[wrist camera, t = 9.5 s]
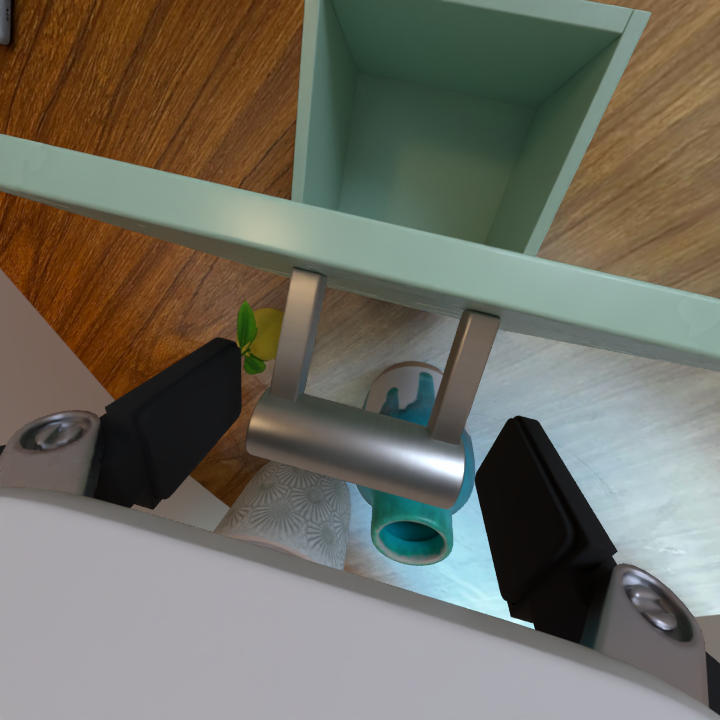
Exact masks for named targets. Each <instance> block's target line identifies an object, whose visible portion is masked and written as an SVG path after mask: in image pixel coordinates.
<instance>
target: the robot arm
mask: <svg viewBox="0 0 720 720" xmlns="http://www.w3.org/2000/svg"><path fill="white" fill-rule="evenodd" d="M241 408H242V398H241V349H240V347H237V344H236V342H234V341H231V340H227V339H223V338H219V337H217V338H215V339H213V340H212V341H210V342H208V343H207V344H205V345H204V346H202V347H200V348H199V349H197V350H196V351H194V352H192V353H191V354H189V355H188V356H186V357H184V358H183V359H181V360H180V361H178V362H176V363H175V364H173V365H172V366H170V367H168V368H167V369H165V370H164V371H162V372H160V373H159V374H157V375H156V376H154V377H152V378H151V379H149V380H148V381H146V382H144V383H143V384H141V385H140V386H138V387H136V388H135V389H133V390H132V391H130V392H128V393H127V394H125V395H124V396H122V397H120V398H119V399H117V400H116V401H114V402H113V403H111V404H109V405H108V406H106V407H105V409H106V412H107V413H106V414H104V415H103V416H101V417H100V418H99V417H98V416H97V415H96V414H94V413H92V412H89V411H82V410H73V411H63V412H58V413H53V414H50V415H47V416H44V417H41V418H38V419H36V420H34V421H32V422H30V423H28V424H26V425H25V426H23V427H22V428H20V429H19V430H18V431H16V432H15V434H14V435H13V436H12V437H11V438H10V440H9V441H8V443H7V445H3V446H0V720H720V663H718V662H717V661H716V660H715V659H714V658H713V657H711V656H710V655H709V654H708V653H707V652H706V651H705V642H704V638H703V634H702V630H701V629H700V627H699V625H698V623H697V621H696V620H695V618H694V616H693V615H692V614H691V612H690V611H689V610H688V608H687V607H686V606H685V604H684V603H683V602H682V601H681V600H680V599H679V598H678V597H677V596H676V595H675V594H674V593H673V592H672V591H671V590H670V589H669V588H668V587H667V586H665V585H664V584H663V583H662V582H661V581H659V580H658V579H657V578H655V577H654V576H652V575H651V574H649V573H648V572H646V571H645V570H642V569H640V568H638V567H636V566H633V565H629V564H624V563H623V564H619V565H617V564H616V562H615V560H614V558H613V557H612V556H613V555H614V554H615V553H616V552H617V550H616V548H615V546H614V545H613V543H612V541H611V540H610V538H609V536H608V535H607V533H606V532H605V530H604V528H603V527H602V525H601V523H600V522H599V520H598V518H597V517H596V515H595V513H594V512H593V510H592V508H591V507H590V505H589V504H588V502H587V500H586V499H585V497H584V495H583V494H582V492H581V490H580V489H579V487H578V485H577V484H576V482H575V481H574V479H573V477H572V476H571V474H570V472H569V471H568V469H567V467H566V466H565V464H564V462H563V461H562V459H561V457H560V456H559V454H558V453H557V451H556V449H555V448H554V446H553V444H552V443H551V441H550V439H549V438H548V436H547V434H546V433H545V431H544V430H543V428H542V426H541V425H540V423H539V422H538V421H537V420H534V419H530V418H526V417H522V416H516V417H514V418H510V419H508V421H507V422H506V424H505V425H504V427H503V429H502V430H501V432H500V434H499V435H498V437H497V439H496V441H495V442H494V444H493V446H492V447H491V449H490V451H489V452H488V454H487V456H486V457H485V459H484V461H483V462H482V464H481V466H480V468H479V469H478V471H477V473H476V476H475V485H476V490H477V494H478V498H479V503H480V507H481V511H482V516H483V520H484V524H485V529H486V533H487V537H488V542H489V546H490V550H491V555H492V559H493V563H494V568H495V572H496V576H497V581H498V585H499V589H500V593H501V596H502V598H503V599H504V600H505V601H507V603H508V607H509V611H510V615H511V617H513V618H517V619H520V620H523V621H527V622H530V623H533V624H534V627H535V630H534V629H531V628H528V627H525V626H522V625H519V624H516V623H513V622H510V621H506V620H503V619H500V618H497V617H493V616H490V615H487V614H484V613H480V612H477V611H474V610H471V609H467V608H464V607H461V606H457V605H454V604H451V603H448V602H444V601H441V600H438V599H435V598H431V597H428V596H425V595H421V594H418V593H415V592H412V591H408V590H405V589H402V588H399V587H395V586H392V585H389V584H385V583H382V582H379V581H375V580H372V579H369V578H365V577H362V576H359V575H356V574H352V573H349V572H346V571H342V570H339V569H336V568H332V567H329V566H326V565H322V564H319V563H316V562H312V561H309V560H306V559H302V558H299V557H296V556H292V555H289V554H285V553H282V552H279V551H275V550H272V549H269V548H265V547H262V546H259V545H255V544H252V543H248V542H245V541H242V540H238V539H235V538H231V537H228V536H225V535H221V534H218V533H214V532H211V531H207V530H204V529H201V528H197V527H194V526H191V525H187V524H184V523H180V522H177V521H174V520H170V519H166V518H163V517H160V516H156V515H153V514H149V513H145V512H142V511H138V510H134V509H131V507H132V506H133V505H134V504H136V505H139V506H142V507H146V508H149V509H152V510H153V509H154V508H155V507H156V506H157V505H158V504H159V502H160V501H161V500H162V499H167V498H169V497H170V496H171V495H172V494H173V493H174V492H175V491H176V489H177V488H178V487H179V486H180V485H181V484H182V482H183V481H184V480H185V479H186V478H187V477H188V475H189V474H190V473H191V472H192V471H193V470H194V468H195V467H196V466H197V465H198V464H199V463H200V462H201V460H202V459H203V458H204V457H205V456H206V455H207V453H208V452H209V451H210V450H211V449H212V448H213V446H214V445H215V444H216V443H217V442H218V441H219V439H220V438H221V437H222V436H223V435H224V434H225V432H226V431H227V430H228V429H229V428H230V427H231V425H232V424H233V423H234V422H235V421H236V420H237V418H238V417H239V415H240V413H241Z"/></svg>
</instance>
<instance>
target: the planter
mask: <svg viewBox="0 0 720 720" xmlns="http://www.w3.org/2000/svg"><path fill="white" fill-rule="evenodd" d="M350 516H351V501H350V494H349V490H348V487H347V484H346V482H345V481H343V480H340V479H336V478H332V477H329V476H325V475H322V474H318V473H315V472H311V471H308V470H304V469H301V468H297V467H294V466H290V465H286V464H283V463H279V462H276V461H272V460H271V461H270V462H268V463H267V464H266V465H264V466H263V467H262V468H261V469H260V470H259V471H258V472H257V473H256V474H255V475H254V476H253V478H252V479H251V480H250V482H249V483H248V484H247V486H246V487H245V489H244V490H243V491H242V493H241V494H240V495H239V497H238V498H237V500H236V501H235V502H234V504H233V505H232V507H231V508H230V510H229V511H228V512H227V514H226V515H225V516H224V518H223V519H222V521H221V522H220V523H219V525H218V526H217V528H216V529H215V530H214V533H218V534H221V535H225V536H228V537H231V538H235V539H238V540H242V541H245V542H248V543H252V544H255V545H259V546H262V547H265V548H269V549H272V550H275V551H279V552H282V553H285V554H289V555H292V556H296V557H299V558H302V559H306V560H309V561H312V562H316V563H319V564H322V565H326V566H329V567H332V568H336V569H339V570H342V571H343V570H344V562H345V554H346V547H347V539H348V532H349V524H350Z"/></svg>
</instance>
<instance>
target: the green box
mask: <svg viewBox="0 0 720 720" xmlns="http://www.w3.org/2000/svg"><path fill="white" fill-rule="evenodd" d="M632 10H633V9H631V8H625V7H620V6H614V5H608V4H603V3H597V2H592V1H586V0H305V5H304V19H303V34H302V49H301V63H300V78H299V92H298V107H297V122H296V136H295V151H294V166H293V180H292V195H291V200H292V201H296V202H300V203H305V204H309V205H313V206H318V207H322V208H326V209H331V210H335V211H339V212H344V213H348V214H352V215H357V216H361V217H366V218H370V219H374V220H379V221H383V222H387V223H392V224H396V225H400V226H405V227H409V228H413V229H418V230H422V231H427V232H431V233H435V234H440V235H444V236H448V237H453V238H457V239H461V240H466V241H470V242H474V243H479V244H483V245H487V246H492V247H496V248H501V249H505V250H509V251H514V252H518V253H522V254H527V255H531V256H536V254H537V252H538V250H539V248H540V246H541V244H542V242H543V239H544V237H545V235H546V233H547V231H548V229H549V227H550V225H551V223H552V221H553V219H554V216H555V214H556V212H557V210H558V208H559V206H560V204H561V202H562V200H563V198H564V195H565V193H566V191H567V189H568V187H569V185H570V183H571V181H572V179H573V177H574V175H575V172H576V170H577V168H578V166H579V164H580V162H581V160H582V158H583V156H584V154H585V152H586V149H587V147H588V145H589V143H590V141H591V139H592V137H593V135H594V133H595V131H596V128H597V126H598V124H599V122H600V120H601V118H602V116H603V114H604V112H605V110H606V108H607V105H608V103H609V101H610V99H611V97H612V95H613V93H614V91H615V89H616V87H617V84H618V82H619V80H620V78H621V76H622V74H623V72H624V70H625V68H626V66H627V64H628V61H629V59H630V57H631V55H632V53H633V51H634V49H635V47H636V45H637V43H638V40H639V38H640V36H641V34H642V32H643V30H644V28H645V26H646V24H647V22H648V20H649V17H650V15H651V12H647V11H641V10H636V9H635V10H633V11H632Z"/></svg>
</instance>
